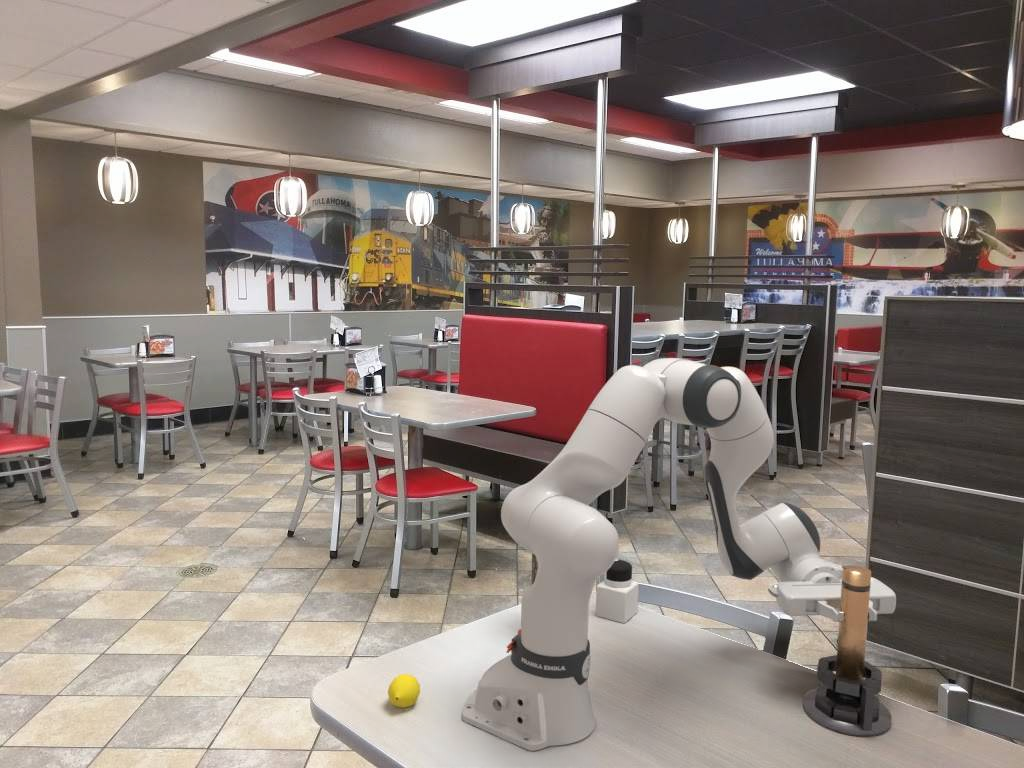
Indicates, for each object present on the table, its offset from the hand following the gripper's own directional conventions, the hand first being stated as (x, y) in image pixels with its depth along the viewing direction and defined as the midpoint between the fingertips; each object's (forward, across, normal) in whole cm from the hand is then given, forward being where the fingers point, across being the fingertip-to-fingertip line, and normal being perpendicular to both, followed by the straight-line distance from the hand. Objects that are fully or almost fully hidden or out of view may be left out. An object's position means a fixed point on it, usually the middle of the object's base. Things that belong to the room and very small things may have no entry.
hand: (856, 617), depth 132 cm
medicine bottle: (-43, -32, +18) cm, 56 cm away
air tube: (-1, 0, +12) cm, 12 cm away
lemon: (-7, -76, +18) cm, 79 cm away
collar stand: (-1, 0, +18) cm, 18 cm away
